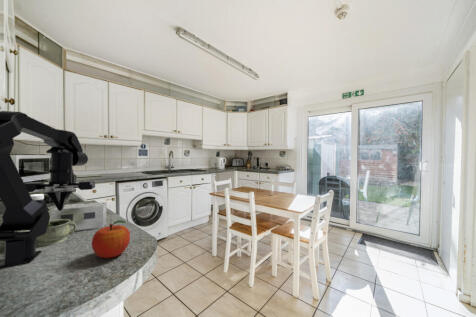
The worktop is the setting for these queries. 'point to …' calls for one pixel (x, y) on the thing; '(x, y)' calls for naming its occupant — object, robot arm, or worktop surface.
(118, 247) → the fruit
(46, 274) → the worktop surface
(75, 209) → the housing
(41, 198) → the sprinkles bottle
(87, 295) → the worktop surface
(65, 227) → the vessel
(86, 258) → the worktop surface
